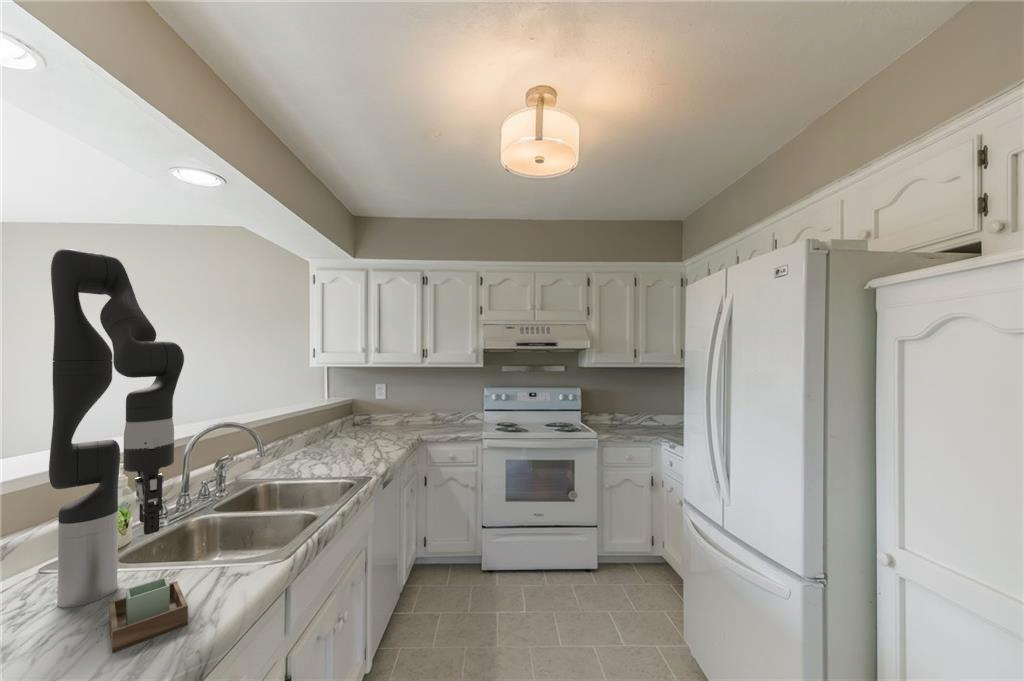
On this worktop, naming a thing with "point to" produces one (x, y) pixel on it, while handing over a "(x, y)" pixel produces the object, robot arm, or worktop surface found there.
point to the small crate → (147, 600)
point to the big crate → (146, 621)
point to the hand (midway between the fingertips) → (149, 526)
